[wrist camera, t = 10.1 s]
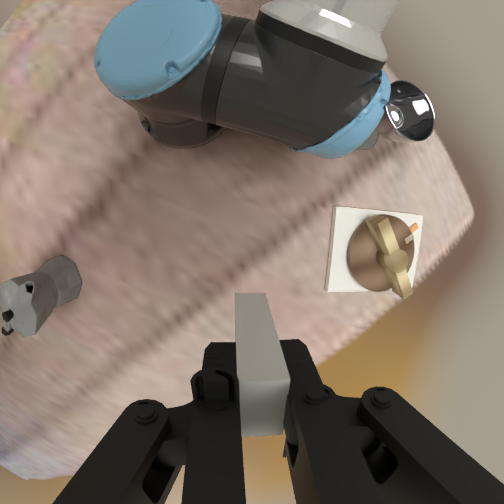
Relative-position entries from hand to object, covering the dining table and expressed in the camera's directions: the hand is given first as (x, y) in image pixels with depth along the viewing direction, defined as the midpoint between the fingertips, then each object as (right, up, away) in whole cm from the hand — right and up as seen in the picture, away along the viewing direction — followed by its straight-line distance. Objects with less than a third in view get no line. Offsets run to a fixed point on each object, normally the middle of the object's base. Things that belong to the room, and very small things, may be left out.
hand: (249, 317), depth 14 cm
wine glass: (+18, +24, +26) cm, 40 cm away
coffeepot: (-36, -2, +28) cm, 46 cm away
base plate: (+22, +4, +31) cm, 38 cm away
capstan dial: (+22, +3, +29) cm, 36 cm away
